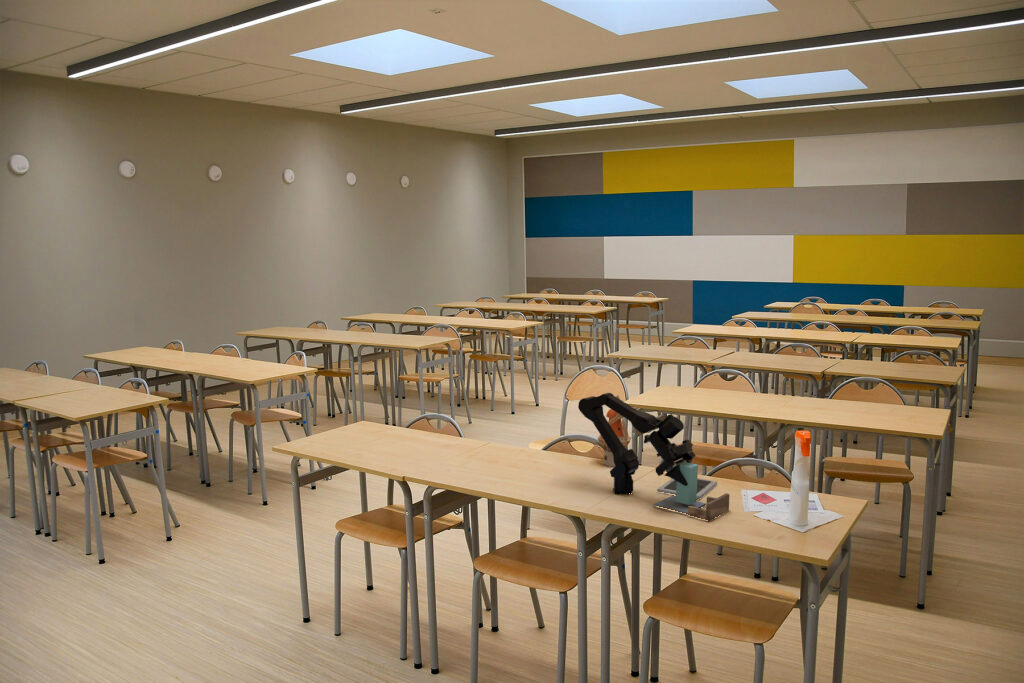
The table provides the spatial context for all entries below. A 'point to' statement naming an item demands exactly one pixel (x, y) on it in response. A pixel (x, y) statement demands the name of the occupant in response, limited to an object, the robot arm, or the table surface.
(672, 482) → the picture frame
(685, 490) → the teal block
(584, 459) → the table surface
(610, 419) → the windmill
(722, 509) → the walnut slot rack
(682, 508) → the slate pad
